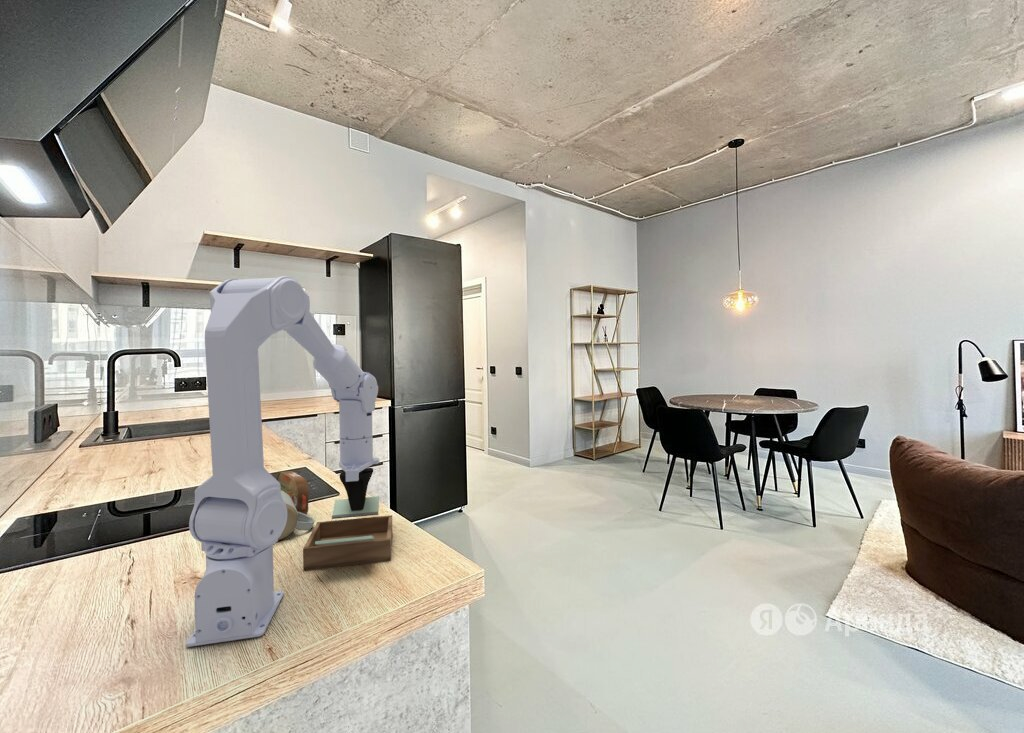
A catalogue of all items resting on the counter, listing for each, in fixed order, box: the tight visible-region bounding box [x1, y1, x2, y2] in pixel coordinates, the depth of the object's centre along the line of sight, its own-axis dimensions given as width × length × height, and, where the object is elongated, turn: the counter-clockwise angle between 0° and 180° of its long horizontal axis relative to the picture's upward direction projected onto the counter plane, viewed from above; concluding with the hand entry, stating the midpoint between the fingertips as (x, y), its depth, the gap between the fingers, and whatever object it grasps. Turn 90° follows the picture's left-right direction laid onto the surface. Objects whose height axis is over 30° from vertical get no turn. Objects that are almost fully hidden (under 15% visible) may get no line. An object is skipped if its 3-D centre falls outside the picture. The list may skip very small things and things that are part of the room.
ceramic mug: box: [278, 491, 315, 541], centre depth 80 cm, size 11×8×8 cm
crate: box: [302, 515, 393, 572], centre depth 73 cm, size 11×13×3 cm
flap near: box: [315, 536, 374, 545], centre depth 66 cm, size 8×4×1 cm, turn 104°
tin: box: [275, 470, 310, 515], centre depth 91 cm, size 15×3×8 cm, turn 43°
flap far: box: [331, 495, 380, 520], centre depth 80 cm, size 8×4×1 cm, turn 104°
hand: (357, 509), depth 79 cm, fingers closed, pressing on flap far
